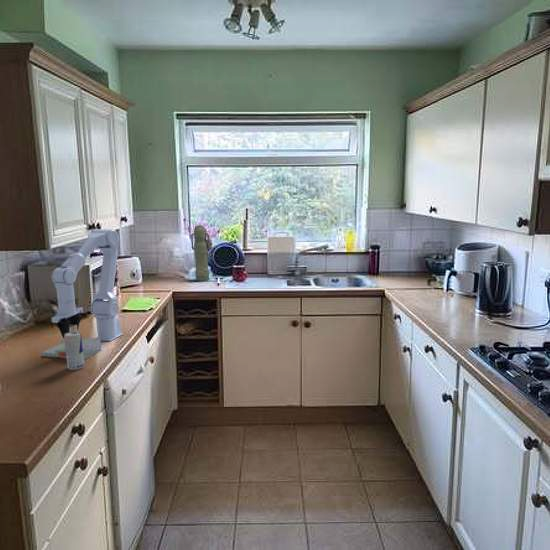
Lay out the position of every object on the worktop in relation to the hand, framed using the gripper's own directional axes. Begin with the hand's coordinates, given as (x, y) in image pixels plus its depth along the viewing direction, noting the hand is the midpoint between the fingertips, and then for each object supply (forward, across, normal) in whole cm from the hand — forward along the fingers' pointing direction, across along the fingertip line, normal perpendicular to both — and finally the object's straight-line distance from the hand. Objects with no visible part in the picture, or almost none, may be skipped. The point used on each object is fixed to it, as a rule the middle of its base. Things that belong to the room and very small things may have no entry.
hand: (70, 336), depth 178 cm
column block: (+2, 0, 0) cm, 2 cm away
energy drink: (+7, +12, +11) cm, 18 cm away
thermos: (+7, -140, -10) cm, 141 cm away
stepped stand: (+6, 0, 0) cm, 6 cm away
